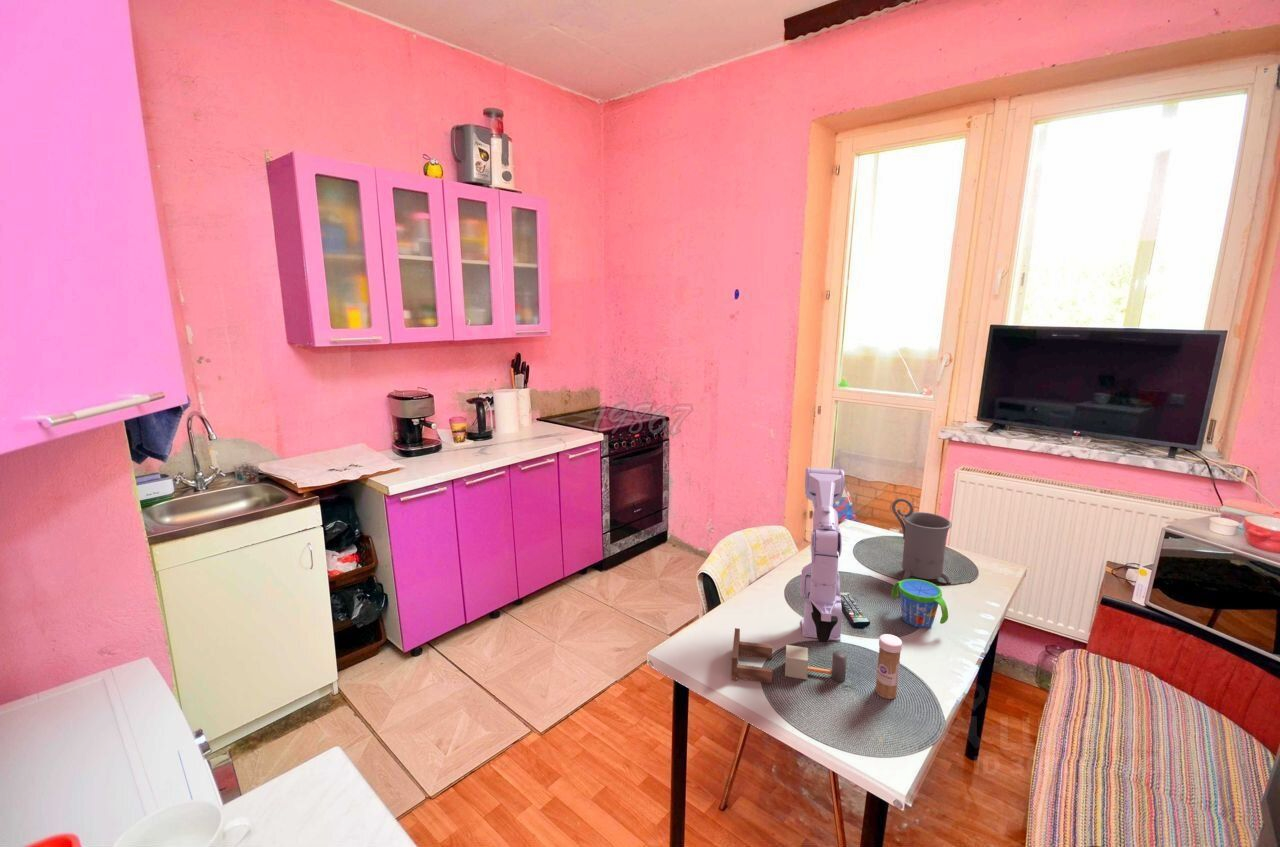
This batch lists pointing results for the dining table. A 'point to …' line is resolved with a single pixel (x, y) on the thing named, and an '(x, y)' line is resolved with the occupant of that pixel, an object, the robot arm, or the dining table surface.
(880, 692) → the sprinkles bottle
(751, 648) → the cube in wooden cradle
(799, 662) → the multicoloured piece
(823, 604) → the robot arm
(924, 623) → the snack cup
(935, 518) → the mug
